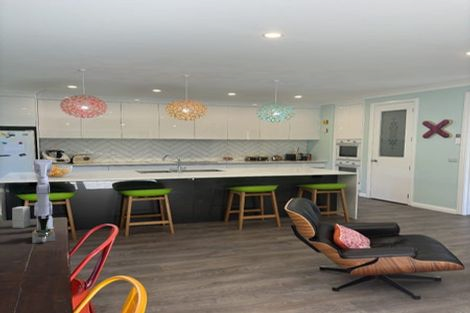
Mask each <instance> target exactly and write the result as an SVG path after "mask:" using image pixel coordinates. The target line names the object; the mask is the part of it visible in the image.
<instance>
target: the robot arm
mask: <svg viewBox="0 0 470 313" xmlns="http://www.w3.org/2000/svg"><path fill="white" fill-rule="evenodd" d="M52 164H53V161H52V159H51V158H50V159H36V158H35V159H34V160H33V171H34V173H35V174H37V175H38V177H37V179H36V180H37V184H36V196H37V197H36V198H37V199H36V202H35V203H34V210H33V211H34V212H33V213H34V216H35V217H36V230H37V229H38V221H39V222H40V226H41V230H46V226H47V222H48V228H52V230H54V229H55V227H54V226H53V224H54V223H53V221H54V220H53V219H54V218H53V216H52V215H53V203H52V201H51V200H50V201H49V198H50V192H51V191H50V190H51V189H50V187H51V186H50V183H49V181H50V180H49V177H48V175H49V174H50V173H52V169H53V167H52ZM37 200H38V202H37Z"/></svg>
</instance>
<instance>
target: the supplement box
mask: <svg viewBox="0 0 470 313" xmlns="http://www.w3.org/2000/svg"><path fill="white" fill-rule="evenodd" d="M11 209H12V212H11V214H12V220H11V221H12V229H14V228H19V229H24V228H27V227H29V226H31V208H30V206H16V207H12V208H11Z"/></svg>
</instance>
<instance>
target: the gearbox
mask: <svg viewBox="0 0 470 313" xmlns="http://www.w3.org/2000/svg"><path fill="white" fill-rule="evenodd" d="M31 235H32V239H31V241H32V244H39V243H47V242H55V241H56V234H55V230H54V229H52V228H48V232H39V233H38V229H37V228H36V229H34V230H33V231H32V234H31Z"/></svg>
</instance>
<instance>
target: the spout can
mask: <svg viewBox="0 0 470 313" xmlns="http://www.w3.org/2000/svg"><path fill="white" fill-rule="evenodd" d="M39 232H48V222H47V226H46V230H41V226H40V222H39V221H38V233H39Z"/></svg>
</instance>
